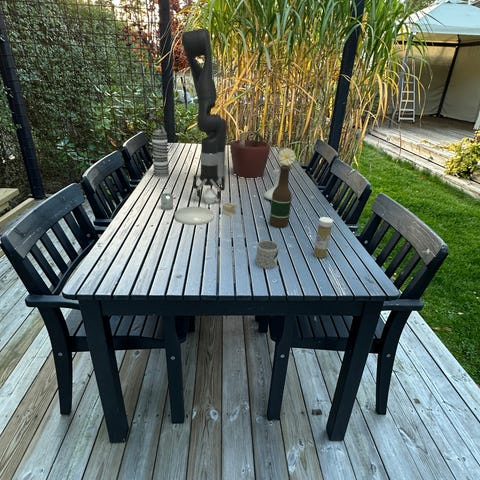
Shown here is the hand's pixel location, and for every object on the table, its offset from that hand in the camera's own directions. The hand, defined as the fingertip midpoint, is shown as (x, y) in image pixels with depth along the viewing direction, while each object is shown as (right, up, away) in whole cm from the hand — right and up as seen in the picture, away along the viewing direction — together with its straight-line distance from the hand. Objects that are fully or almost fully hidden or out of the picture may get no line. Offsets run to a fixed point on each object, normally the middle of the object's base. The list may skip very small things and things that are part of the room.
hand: (208, 198), depth 154 cm
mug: (+23, -26, -44) cm, 56 cm away
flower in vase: (+33, +1, +11) cm, 34 cm away
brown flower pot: (+19, +19, +46) cm, 54 cm away
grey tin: (-17, -5, -8) cm, 20 cm away
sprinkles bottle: (+42, -25, -39) cm, 62 cm away
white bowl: (-5, -10, -15) cm, 18 cm away
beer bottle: (+30, -13, -17) cm, 37 cm away
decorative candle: (-30, +16, +34) cm, 48 cm away
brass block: (+10, -8, -9) cm, 15 cm away
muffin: (0, -2, +1) cm, 3 cm away
